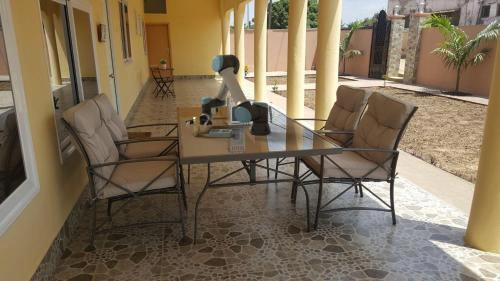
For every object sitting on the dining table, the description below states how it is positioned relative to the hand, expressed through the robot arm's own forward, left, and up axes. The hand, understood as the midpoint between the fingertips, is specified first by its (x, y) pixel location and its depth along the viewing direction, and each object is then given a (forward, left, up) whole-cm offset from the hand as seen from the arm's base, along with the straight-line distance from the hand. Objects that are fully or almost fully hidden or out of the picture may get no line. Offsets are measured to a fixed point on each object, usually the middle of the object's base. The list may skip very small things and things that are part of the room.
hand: (195, 125), depth 265 cm
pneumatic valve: (+5, -65, -9) cm, 65 cm away
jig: (-17, -5, -9) cm, 20 cm away
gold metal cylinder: (0, -3, -9) cm, 9 cm away
